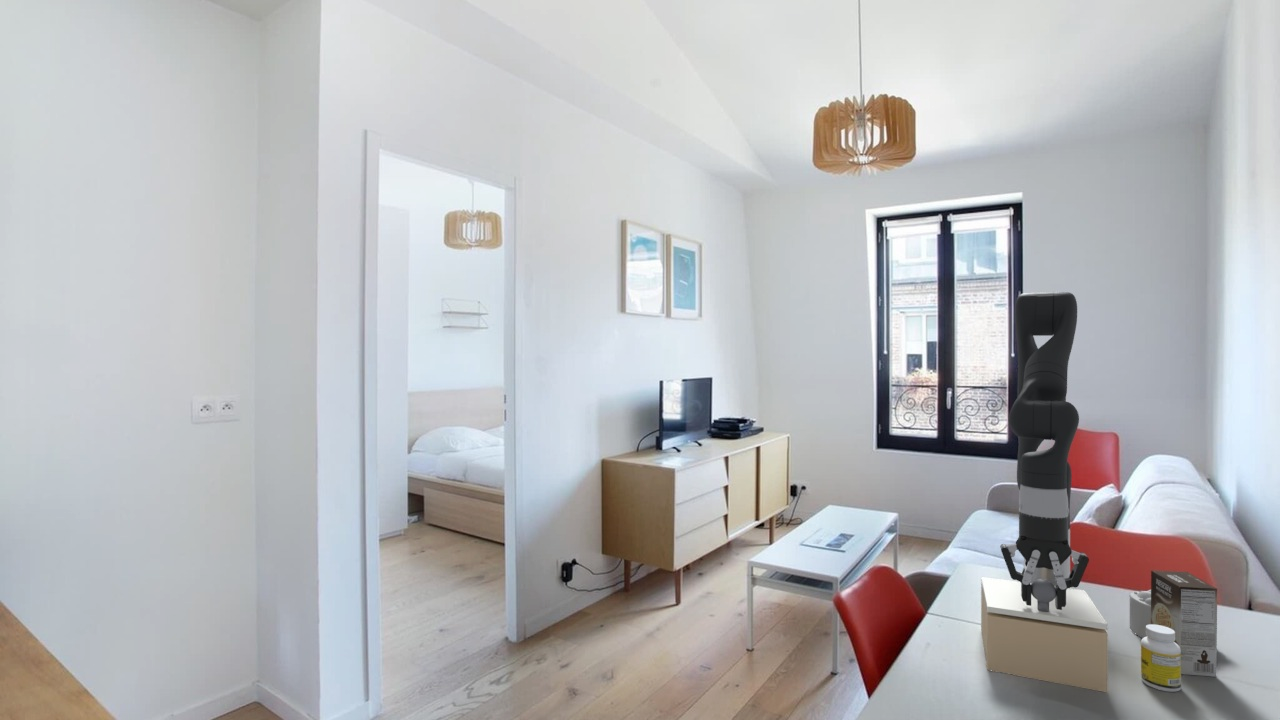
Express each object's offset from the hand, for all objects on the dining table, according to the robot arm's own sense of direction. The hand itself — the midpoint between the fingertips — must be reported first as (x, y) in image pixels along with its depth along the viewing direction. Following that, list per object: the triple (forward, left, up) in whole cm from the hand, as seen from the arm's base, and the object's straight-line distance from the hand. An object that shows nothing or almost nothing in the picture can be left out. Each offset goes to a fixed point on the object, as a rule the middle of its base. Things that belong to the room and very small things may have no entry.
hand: (1043, 605), depth 115 cm
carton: (-7, 0, -12) cm, 14 cm away
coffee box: (-15, +24, -13) cm, 31 cm away
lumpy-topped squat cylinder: (-28, +25, -13) cm, 40 cm away
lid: (-7, 0, -2) cm, 7 cm away
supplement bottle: (-4, +18, -13) cm, 22 cm away
